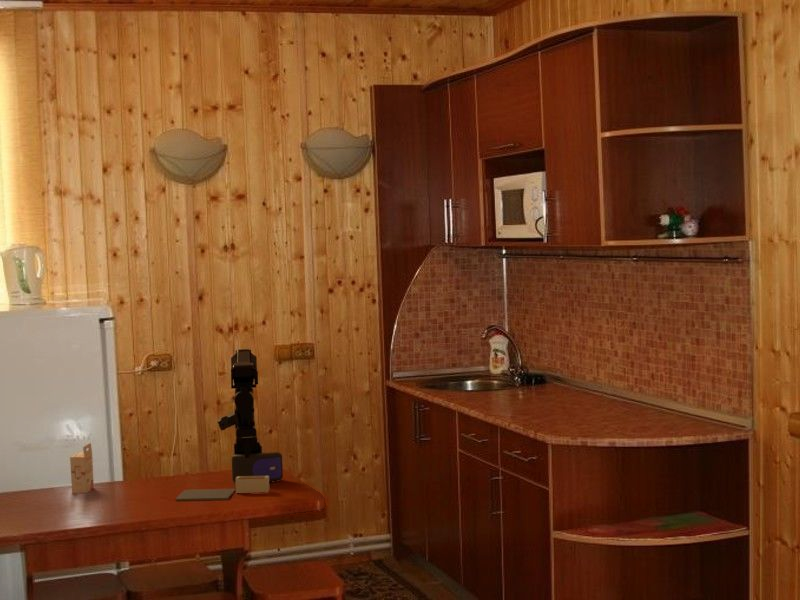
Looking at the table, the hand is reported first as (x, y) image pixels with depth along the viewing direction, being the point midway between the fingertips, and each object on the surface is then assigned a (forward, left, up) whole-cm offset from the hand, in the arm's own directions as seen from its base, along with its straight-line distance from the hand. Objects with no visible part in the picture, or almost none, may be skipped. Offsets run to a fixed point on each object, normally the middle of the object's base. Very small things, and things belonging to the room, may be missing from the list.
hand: (246, 454), depth 367 cm
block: (-1, +1, -12) cm, 12 cm away
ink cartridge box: (-9, -55, -12) cm, 57 cm away
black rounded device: (-17, 0, -12) cm, 21 cm away
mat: (+2, -13, -12) cm, 18 cm away
